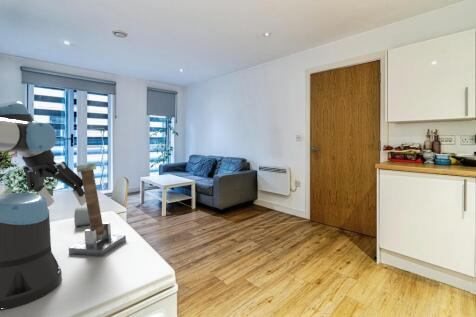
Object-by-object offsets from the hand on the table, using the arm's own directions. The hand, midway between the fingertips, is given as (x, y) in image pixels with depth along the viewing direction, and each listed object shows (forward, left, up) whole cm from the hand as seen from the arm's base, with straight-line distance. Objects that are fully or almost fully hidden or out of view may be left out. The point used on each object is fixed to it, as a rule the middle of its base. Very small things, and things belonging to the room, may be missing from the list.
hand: (67, 203), depth 88 cm
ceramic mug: (+18, +9, -14) cm, 25 cm away
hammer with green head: (-2, -14, -11) cm, 18 cm away
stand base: (-2, -14, -14) cm, 20 cm away
